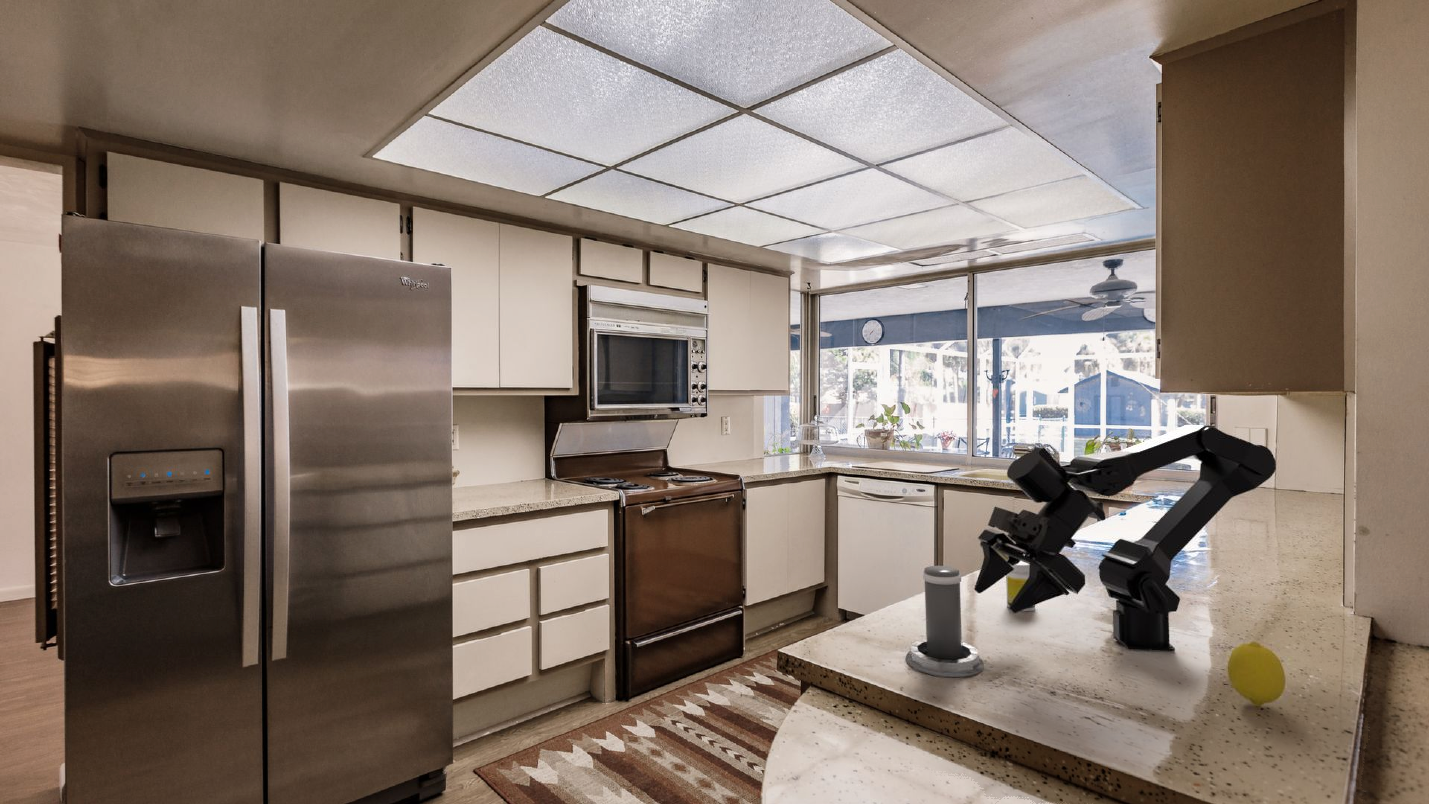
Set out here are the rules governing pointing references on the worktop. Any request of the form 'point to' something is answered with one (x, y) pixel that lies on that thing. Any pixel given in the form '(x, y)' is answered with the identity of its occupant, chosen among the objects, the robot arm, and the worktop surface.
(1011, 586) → the supplement bottle
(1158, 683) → the worktop surface
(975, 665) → the mount ring
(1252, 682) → the lemon
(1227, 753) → the worktop surface
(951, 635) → the grey cylinder
